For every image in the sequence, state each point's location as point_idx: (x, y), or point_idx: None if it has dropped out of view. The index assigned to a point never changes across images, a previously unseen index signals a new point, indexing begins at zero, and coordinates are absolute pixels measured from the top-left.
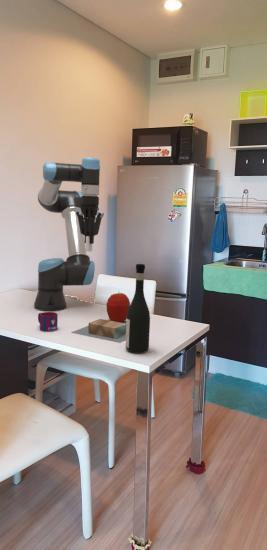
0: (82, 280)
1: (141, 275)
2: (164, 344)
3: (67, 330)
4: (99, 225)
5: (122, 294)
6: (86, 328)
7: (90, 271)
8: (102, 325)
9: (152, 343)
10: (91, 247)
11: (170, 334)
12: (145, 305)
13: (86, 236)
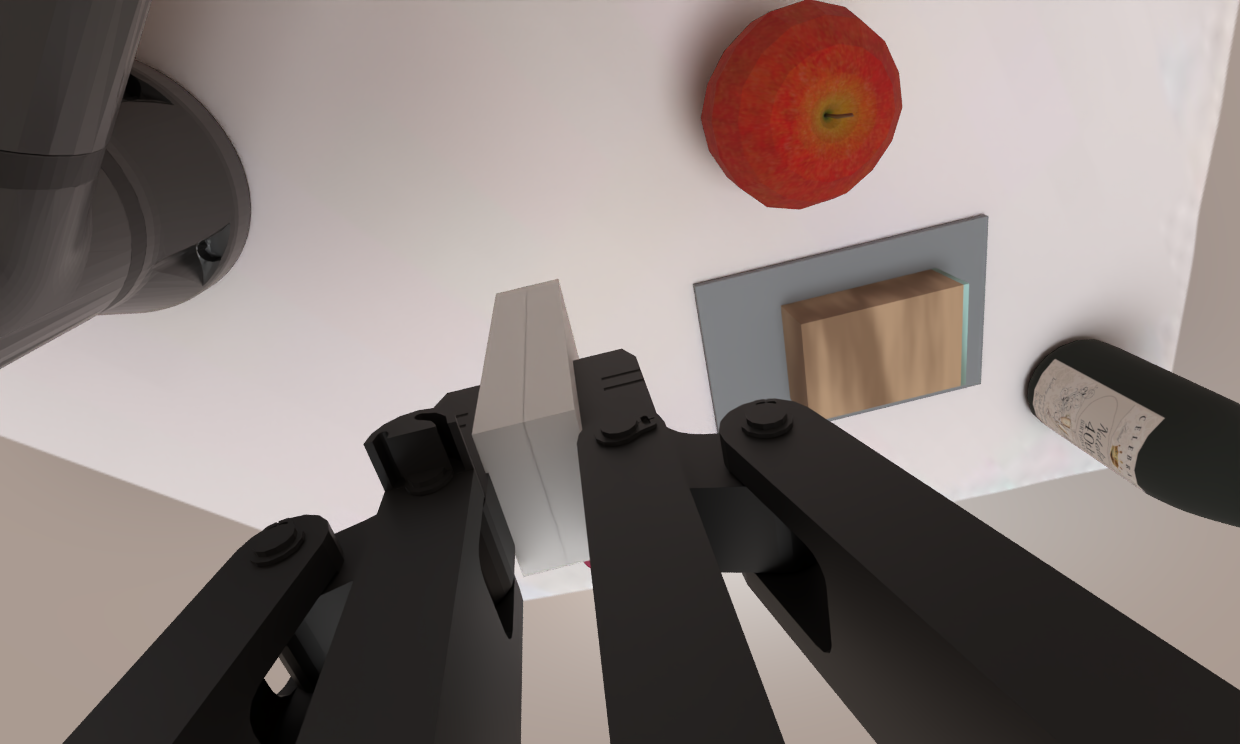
0: None
1: None
2: (1143, 231)
3: (666, 423)
4: (1097, 636)
5: (867, 97)
6: (729, 355)
7: None
8: (888, 398)
9: (1090, 263)
10: (568, 326)
11: (1124, 59)
12: None
13: (540, 569)
